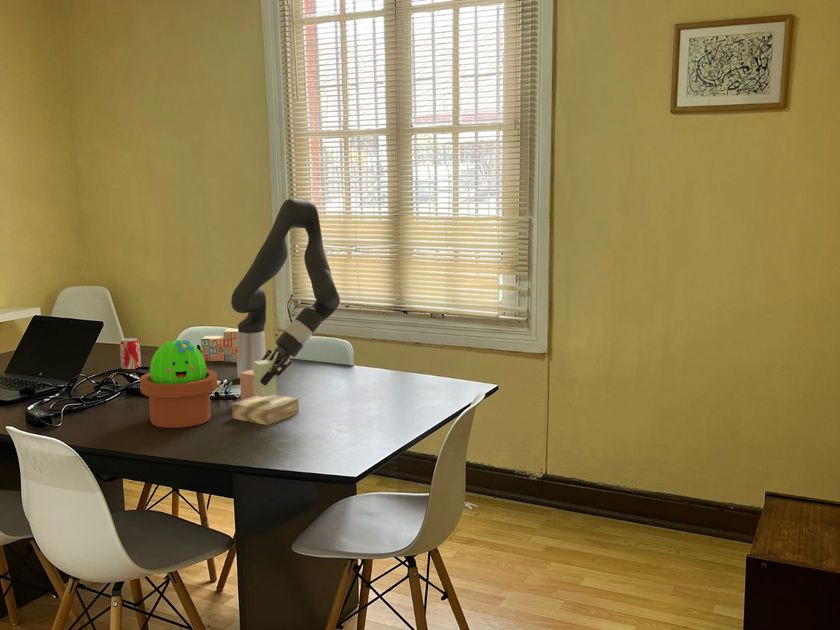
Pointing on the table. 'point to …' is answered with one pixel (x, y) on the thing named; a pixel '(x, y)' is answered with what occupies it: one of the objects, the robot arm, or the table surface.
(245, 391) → the clay-red block
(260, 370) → the sage-green block
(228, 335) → the stack of blocks
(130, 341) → the soda can
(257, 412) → the birch plinth block
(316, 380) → the table surface
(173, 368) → the potted cactus
